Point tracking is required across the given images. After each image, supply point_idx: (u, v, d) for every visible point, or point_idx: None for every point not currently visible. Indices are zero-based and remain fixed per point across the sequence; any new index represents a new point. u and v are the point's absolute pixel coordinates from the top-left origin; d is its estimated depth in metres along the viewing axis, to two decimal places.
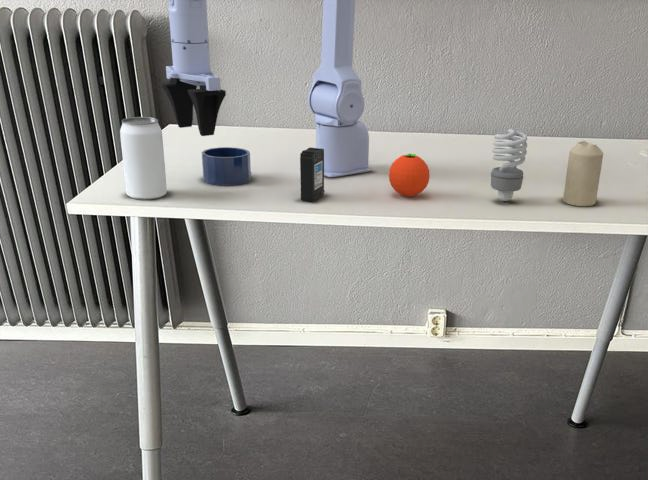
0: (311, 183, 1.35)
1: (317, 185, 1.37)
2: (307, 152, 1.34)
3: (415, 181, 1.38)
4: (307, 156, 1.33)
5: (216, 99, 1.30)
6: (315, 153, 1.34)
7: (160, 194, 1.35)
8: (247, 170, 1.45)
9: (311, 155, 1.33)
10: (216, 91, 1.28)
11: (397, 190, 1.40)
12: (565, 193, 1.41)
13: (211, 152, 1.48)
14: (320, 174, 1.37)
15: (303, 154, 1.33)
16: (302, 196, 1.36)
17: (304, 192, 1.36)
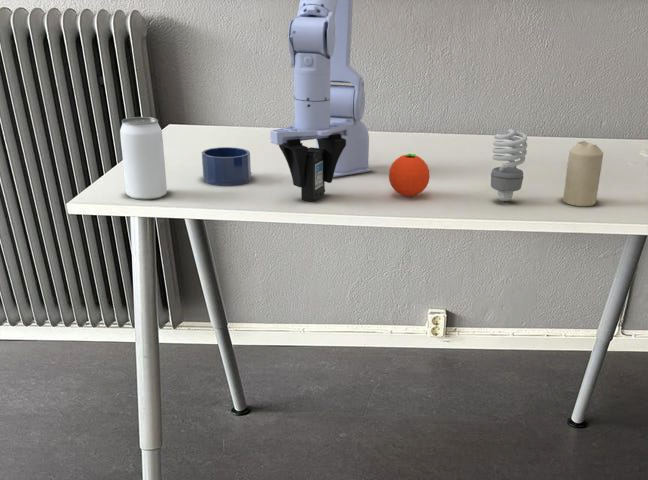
0: (312, 183, 1.35)
1: (318, 185, 1.37)
2: (308, 152, 1.34)
3: (415, 181, 1.38)
4: (308, 156, 1.33)
5: None
6: (316, 153, 1.34)
7: (160, 194, 1.35)
8: (247, 170, 1.45)
9: (312, 155, 1.33)
10: None
11: (397, 190, 1.40)
12: (565, 193, 1.41)
13: (211, 152, 1.48)
14: (320, 174, 1.37)
15: None
16: (303, 196, 1.36)
17: (305, 192, 1.36)
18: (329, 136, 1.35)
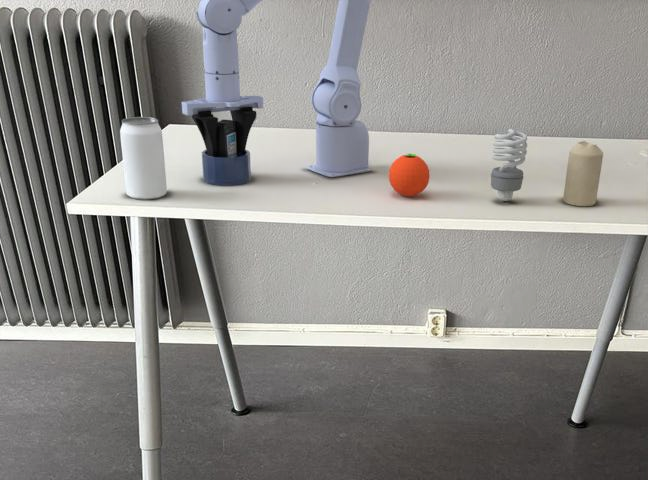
0: (224, 153, 1.43)
1: (231, 155, 1.45)
2: (219, 123, 1.42)
3: (415, 181, 1.38)
4: (219, 127, 1.41)
5: None
6: (227, 124, 1.42)
7: (160, 194, 1.35)
8: (247, 170, 1.45)
9: (223, 126, 1.41)
10: None
11: (397, 190, 1.40)
12: (565, 193, 1.41)
13: None
14: (233, 145, 1.45)
15: None
16: None
17: None
18: (240, 108, 1.44)
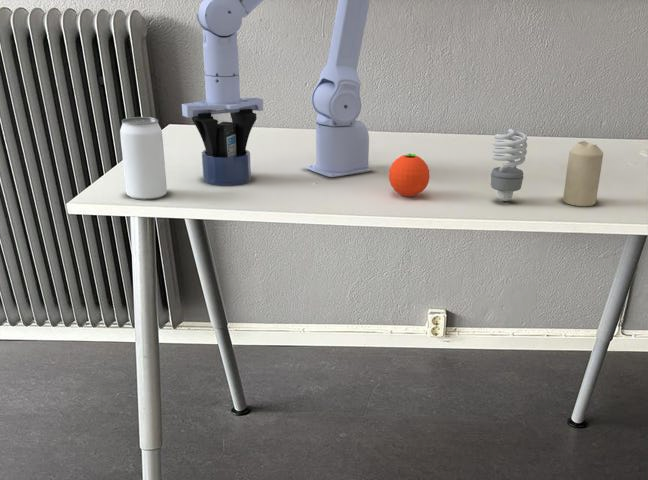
0: (224, 155, 1.43)
1: None
2: (219, 125, 1.42)
3: (415, 181, 1.38)
4: (219, 129, 1.42)
5: None
6: (227, 126, 1.42)
7: (160, 194, 1.35)
8: (247, 170, 1.45)
9: (222, 128, 1.41)
10: None
11: (397, 190, 1.40)
12: (565, 193, 1.41)
13: None
14: (233, 147, 1.46)
15: None
16: None
17: None
18: (240, 110, 1.44)
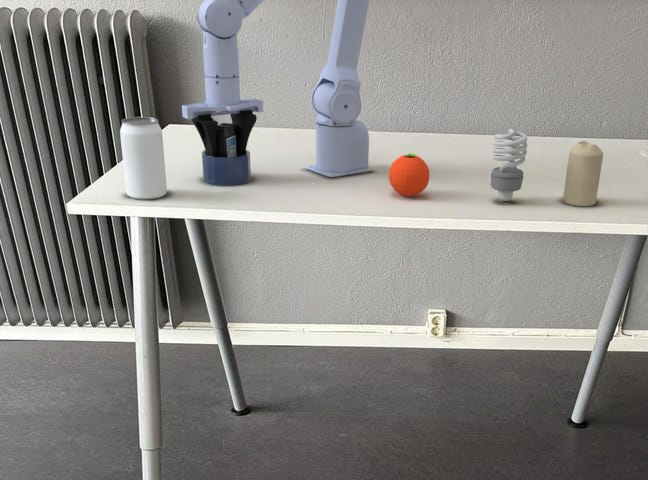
0: (224, 156, 1.43)
1: None
2: (219, 127, 1.42)
3: (415, 181, 1.38)
4: (219, 130, 1.42)
5: None
6: (227, 128, 1.42)
7: (160, 194, 1.35)
8: (247, 170, 1.45)
9: (222, 130, 1.41)
10: None
11: (397, 190, 1.40)
12: (565, 193, 1.41)
13: None
14: (233, 148, 1.46)
15: None
16: None
17: None
18: (240, 112, 1.44)
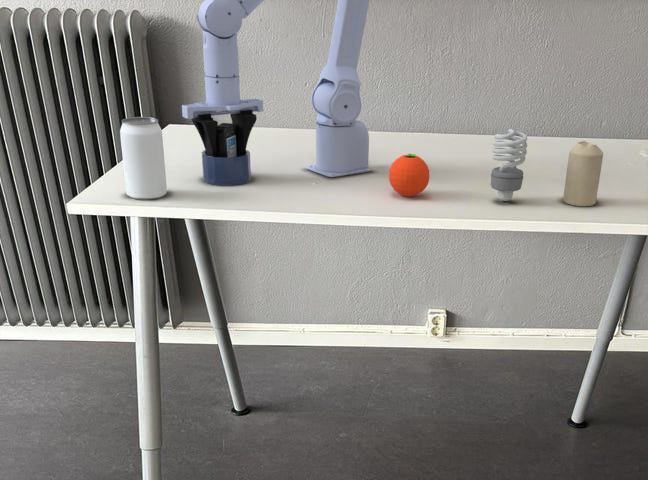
0: (224, 156, 1.43)
1: None
2: (219, 127, 1.42)
3: (415, 181, 1.38)
4: (219, 130, 1.42)
5: None
6: (227, 128, 1.42)
7: (160, 194, 1.35)
8: (247, 170, 1.45)
9: (222, 130, 1.41)
10: None
11: (397, 190, 1.40)
12: (565, 193, 1.41)
13: None
14: (233, 148, 1.46)
15: None
16: None
17: None
18: (240, 112, 1.44)
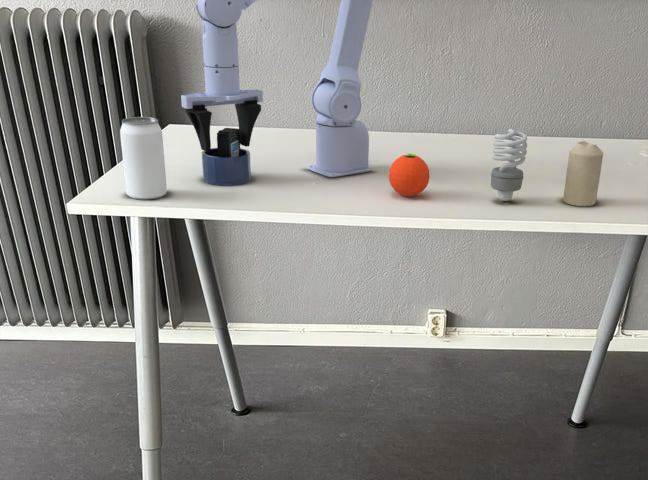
0: None
1: None
2: (223, 132, 1.43)
3: (415, 181, 1.38)
4: (223, 135, 1.42)
5: None
6: (231, 132, 1.43)
7: (160, 194, 1.35)
8: (247, 170, 1.45)
9: (227, 134, 1.42)
10: None
11: (397, 190, 1.40)
12: (565, 193, 1.41)
13: (211, 152, 1.48)
14: (236, 153, 1.47)
15: (219, 134, 1.43)
16: None
17: None
18: (245, 102, 1.44)
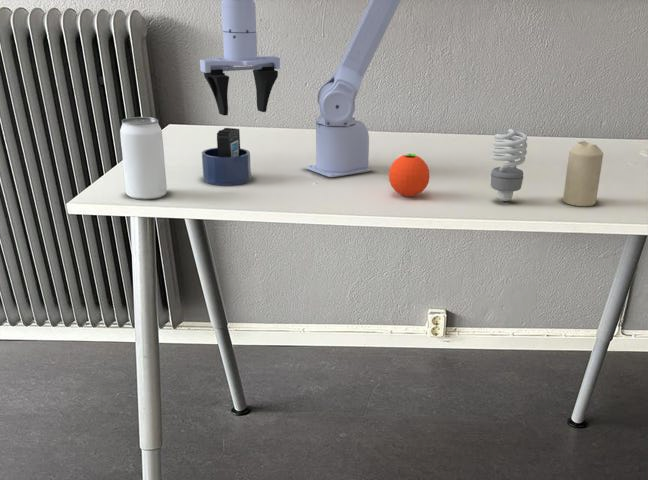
0: None
1: None
2: (223, 132, 1.43)
3: (415, 181, 1.38)
4: (223, 135, 1.42)
5: None
6: (231, 132, 1.43)
7: (160, 194, 1.35)
8: (247, 170, 1.45)
9: (227, 134, 1.42)
10: None
11: (397, 190, 1.40)
12: (565, 193, 1.41)
13: (211, 152, 1.48)
14: (236, 153, 1.47)
15: (219, 134, 1.43)
16: None
17: None
18: (262, 68, 1.48)
